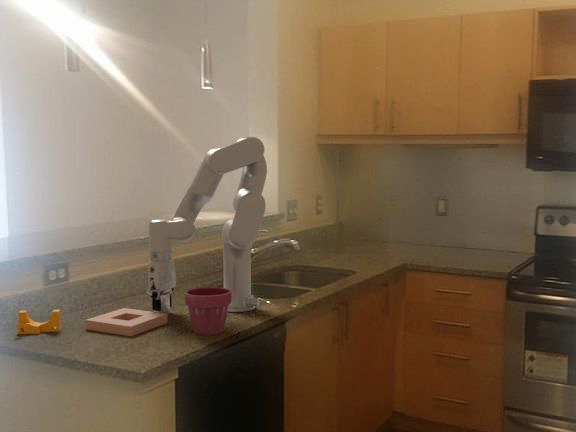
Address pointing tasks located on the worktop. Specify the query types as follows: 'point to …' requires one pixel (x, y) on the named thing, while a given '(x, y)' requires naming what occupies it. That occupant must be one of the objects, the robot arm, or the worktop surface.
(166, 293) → the piston
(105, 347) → the worktop surface
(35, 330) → the pipe clamp
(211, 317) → the plant pot
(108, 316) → the pink square holed slab
